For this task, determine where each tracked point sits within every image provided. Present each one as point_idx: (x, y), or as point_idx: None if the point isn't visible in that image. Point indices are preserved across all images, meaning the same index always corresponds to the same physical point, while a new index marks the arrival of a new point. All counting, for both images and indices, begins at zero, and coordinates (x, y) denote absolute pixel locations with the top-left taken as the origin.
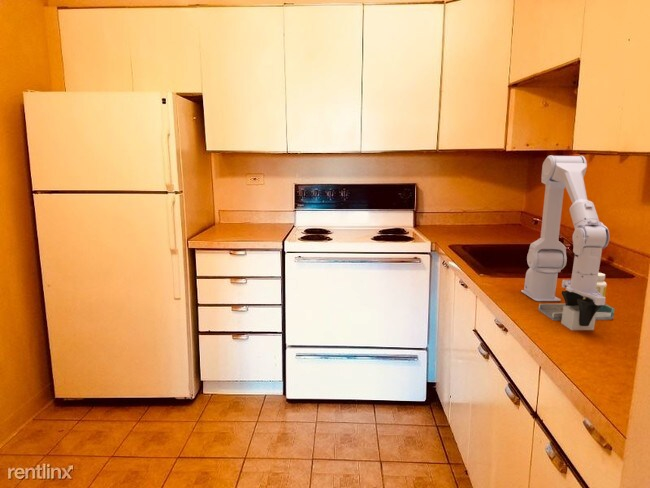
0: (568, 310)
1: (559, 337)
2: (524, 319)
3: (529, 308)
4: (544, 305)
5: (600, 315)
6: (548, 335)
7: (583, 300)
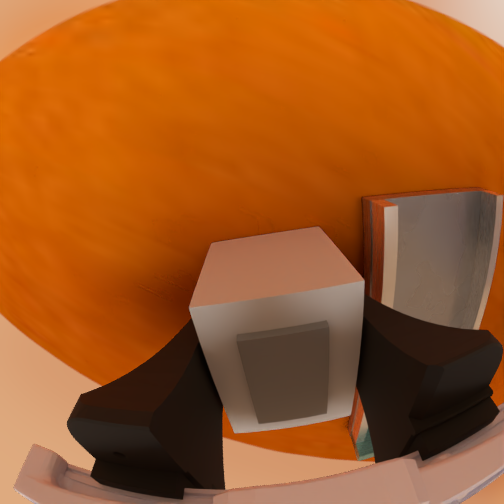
0: (274, 286)
1: (98, 135)
2: (355, 30)
3: (493, 154)
4: (491, 219)
5: (358, 415)
6: (116, 82)
7: (131, 452)
